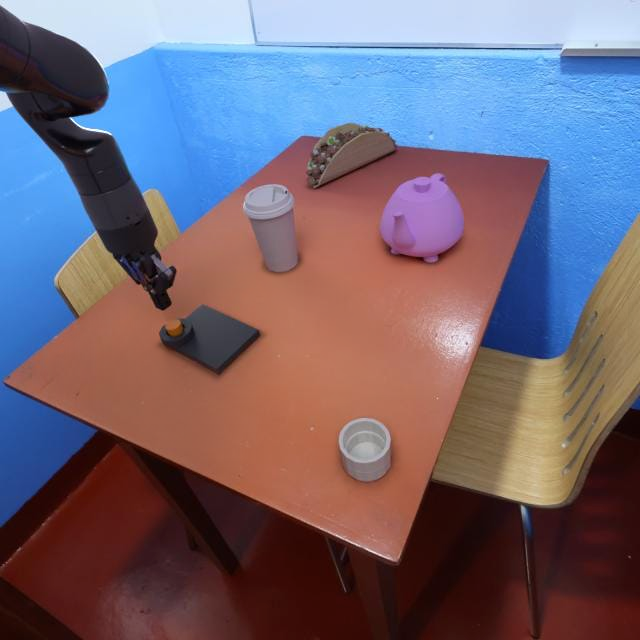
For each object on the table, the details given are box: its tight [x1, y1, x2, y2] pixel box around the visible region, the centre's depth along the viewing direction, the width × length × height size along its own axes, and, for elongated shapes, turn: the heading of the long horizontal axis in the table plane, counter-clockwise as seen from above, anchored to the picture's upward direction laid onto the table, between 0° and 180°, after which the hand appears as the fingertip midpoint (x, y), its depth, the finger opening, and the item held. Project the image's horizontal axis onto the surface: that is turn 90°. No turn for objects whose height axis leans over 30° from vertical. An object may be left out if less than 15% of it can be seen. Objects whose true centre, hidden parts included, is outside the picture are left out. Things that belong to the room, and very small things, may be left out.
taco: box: [305, 122, 398, 189], centre depth 117 cm, size 10×27×10 cm, turn 126°
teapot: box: [379, 172, 465, 263], centre depth 87 cm, size 22×16×14 cm
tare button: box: [165, 318, 184, 336], centre depth 79 cm, size 3×3×2 cm
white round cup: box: [338, 417, 393, 483], centre depth 58 cm, size 6×6×5 cm
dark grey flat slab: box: [158, 303, 261, 376], centre depth 79 cm, size 11×14×3 cm
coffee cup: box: [242, 183, 299, 273], centre depth 89 cm, size 10×10×15 cm
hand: (164, 306), depth 76 cm, fingers closed
